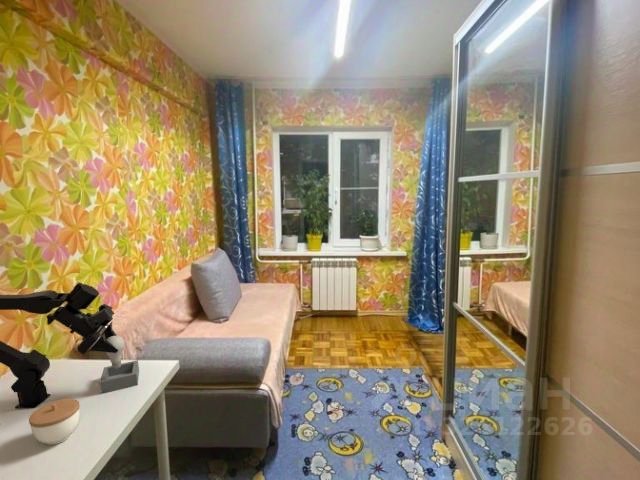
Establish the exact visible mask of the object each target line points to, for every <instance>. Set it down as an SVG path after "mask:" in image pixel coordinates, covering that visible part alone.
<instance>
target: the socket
mask: <svg viewBox="0 0 640 480" xmlns="http://www.w3.org/2000/svg"><path fill="white" fill-rule="evenodd" d="M139 376H140V366H139V360H138V359H137V360H132V361H128V362H123V363H122V362H121V367H119V369H114V368H113V367H112V365H110V366H106V367H105V366H104V367H103V370H102V373H101V376H100V380H99V387H100V393H101V395H102V394H106V393H110V392H114V391H118V390H123V389H126V388H132V387H135V386H138V385H139Z"/></svg>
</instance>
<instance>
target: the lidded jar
mask: <svg viewBox="0 0 640 480" xmlns="http://www.w3.org/2000/svg"><path fill="white" fill-rule="evenodd" d="M80 409H81V408H80V401H79V400H78V399H76V398H67V397H66V398H62V399H57V400H53V401H51V402H48V403H46V404H44V405H42V406H40V407H39V408H37V409H36V410H34V411H33V412H32V413H31V414H30V416H29V418H28V423H29V427H30V429H31V432H32V434H33V436H34V438H35V439H36V440H37V441H39V442H40V443H43V444H46V445H49V446H52V445H58V444H60V443H63V442H65V441H66V440H68V439H69V438H71V436H72V435H73V434H74V432H75V431H76V429H77V428H78V426H79V423H80V419H81V410H80Z"/></svg>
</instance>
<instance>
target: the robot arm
mask: <svg viewBox="0 0 640 480" xmlns="http://www.w3.org/2000/svg"><path fill="white" fill-rule="evenodd" d="M99 295H100V293H99V290H98V289H96V288H95V287H94V286H91V285H88V284H85V283H82V282H78V283H76V285H75V286H74V287H73V289H72V290H71V291H70V292H57V291H56V290H53V289H52V290H51V289H50V290H42V291H36V292H31V293H28V294H27V293H26V294H0V311H18V310H19V311H24V312H27V313H28V314H29V313H30V314H35V315H36V314H37V315H46V314H47V315H46V320H47V321H46V323H47V324H46V325H48V326H49V325H51V324H52V323H53V322H54V321H56V322H57V323H59V324H61V325H63V326H65V328H67V329H69V330H70V331H69V333H70V334H74V333H76V334H77V335H79V336H81V337H82V338H81V340H82V341H81V342H80V343H79V344H78V346H77V347H76V349H77V352H78V353H80V354H81V355H85V354H86V353H87V352H89V353H90V352H103V353H105V352H110V353H117V352H118V349H116V348H115V347H114V346H113V345H112V344H111V343H110V342H108V341H107V339H108V338H109V337H111V336H118V335H117V334H116V332H115V331H114V329H113V318H114V317H113V315H115V312H114V311H113V307H112V306H110V305H109V304H105V303H103V304H101V305H100V306H99V307H98V310H97V311H96V312H95V313H91V312H86V313H84V312H83V311H81V310H86V309H88V308H89V306H90V305H92V303H93V302H94V301H96V299H97V298H98V297H99ZM64 304H65V305H64ZM62 305H64V306H62ZM54 309H55V311H54V312H53V313H51V312H52V311H53V310H54ZM0 364H2V365H3V366H6V367H7V368H9V370H10V371H11V373H12V375H13V376H14V377H16V378H17V379H16V380H15V381H14V382H13V383H12V384H11V385H10V389H11V390H12V391H13V393H16V394H17V401H18V404H16V405H15V406H14V408H15V409H33V408H34V409H35V408H37V407H39V405H40V406H41V404H42V403H44V402H45V401H46V400H47V399H48V398H50V397H51V393H48V389H47V386H46V385H45V381H44V380H43V379H42V378H43V377H44V376H45V374H46V372H47V371H49V369H50V367H51V363H50V360H49V358H48V357H47V354H44V353H40V352H39V351H38V350H36V349H32V350H30V352H24V351H20V350H18V349H17V348H15V347H13V346H11V345H9V344H7V343H5V342H4V341H1V340H0Z"/></svg>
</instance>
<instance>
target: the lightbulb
mask: <svg viewBox="0 0 640 480" xmlns="http://www.w3.org/2000/svg"><path fill="white" fill-rule="evenodd" d="M107 341H108V342H110V343H111V344H112V345H113V346H114V347H115V348H116V349H118V352H117V353H110V352H104V353H105V354H106V355H107V357H108V359H109V360H110V363H111V366H112V367H113V368H114V369H119V367H121V364H122V359H123V358H122V357H123V351H124V349H125V347H126V341H125V340H124V338H123V337H121V336H119V335H117V336H111V337H109V338H108V339H107Z"/></svg>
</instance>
